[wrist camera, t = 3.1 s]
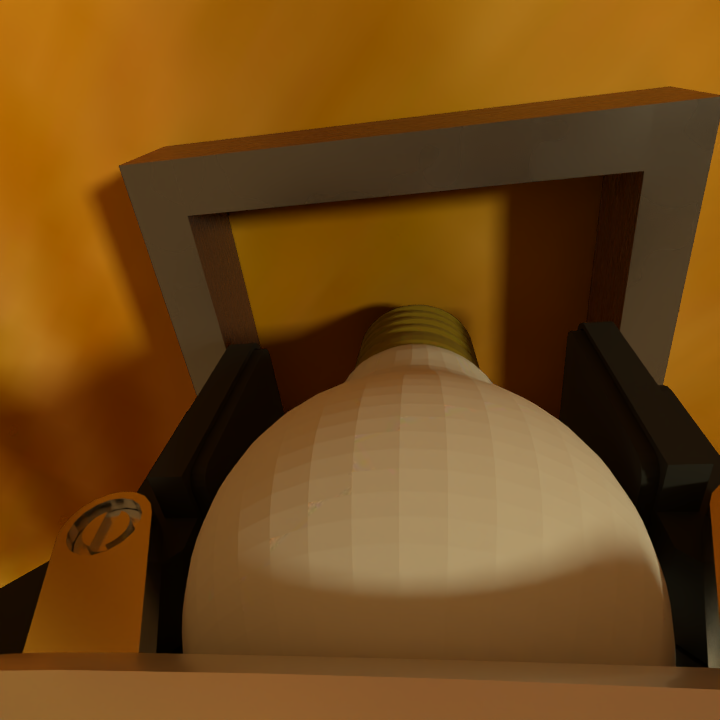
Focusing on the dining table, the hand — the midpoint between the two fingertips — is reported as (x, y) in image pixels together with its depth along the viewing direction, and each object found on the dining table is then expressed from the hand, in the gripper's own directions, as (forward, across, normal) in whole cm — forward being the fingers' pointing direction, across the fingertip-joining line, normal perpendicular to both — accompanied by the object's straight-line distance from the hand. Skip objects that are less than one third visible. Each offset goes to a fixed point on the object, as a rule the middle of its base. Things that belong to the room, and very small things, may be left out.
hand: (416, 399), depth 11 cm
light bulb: (+3, 0, 0) cm, 3 cm away
